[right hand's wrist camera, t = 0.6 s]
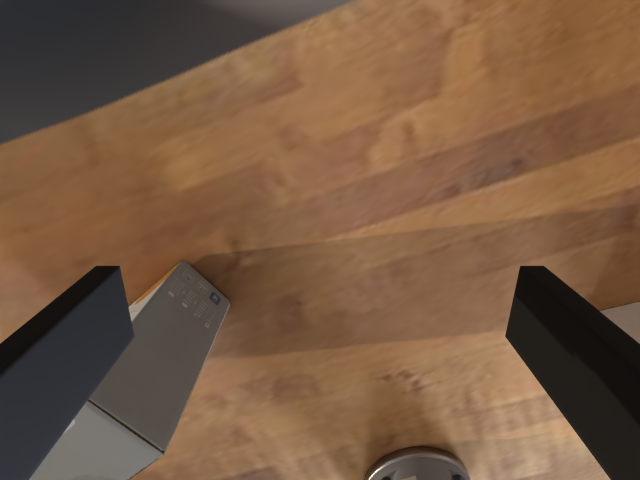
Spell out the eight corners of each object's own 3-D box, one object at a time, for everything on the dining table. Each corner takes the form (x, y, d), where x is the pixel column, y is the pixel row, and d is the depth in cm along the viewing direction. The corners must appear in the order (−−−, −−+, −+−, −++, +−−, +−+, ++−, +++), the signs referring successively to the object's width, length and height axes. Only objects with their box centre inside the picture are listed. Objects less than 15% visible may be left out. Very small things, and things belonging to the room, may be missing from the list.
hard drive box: (183, 256, 42) (78, 389, 24) (233, 301, 45) (172, 456, 26) (96, 333, 46) (-52, 499, 28) (146, 371, 48) (39, 549, 30)
